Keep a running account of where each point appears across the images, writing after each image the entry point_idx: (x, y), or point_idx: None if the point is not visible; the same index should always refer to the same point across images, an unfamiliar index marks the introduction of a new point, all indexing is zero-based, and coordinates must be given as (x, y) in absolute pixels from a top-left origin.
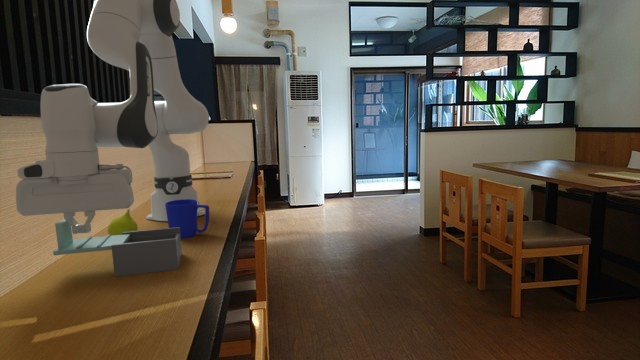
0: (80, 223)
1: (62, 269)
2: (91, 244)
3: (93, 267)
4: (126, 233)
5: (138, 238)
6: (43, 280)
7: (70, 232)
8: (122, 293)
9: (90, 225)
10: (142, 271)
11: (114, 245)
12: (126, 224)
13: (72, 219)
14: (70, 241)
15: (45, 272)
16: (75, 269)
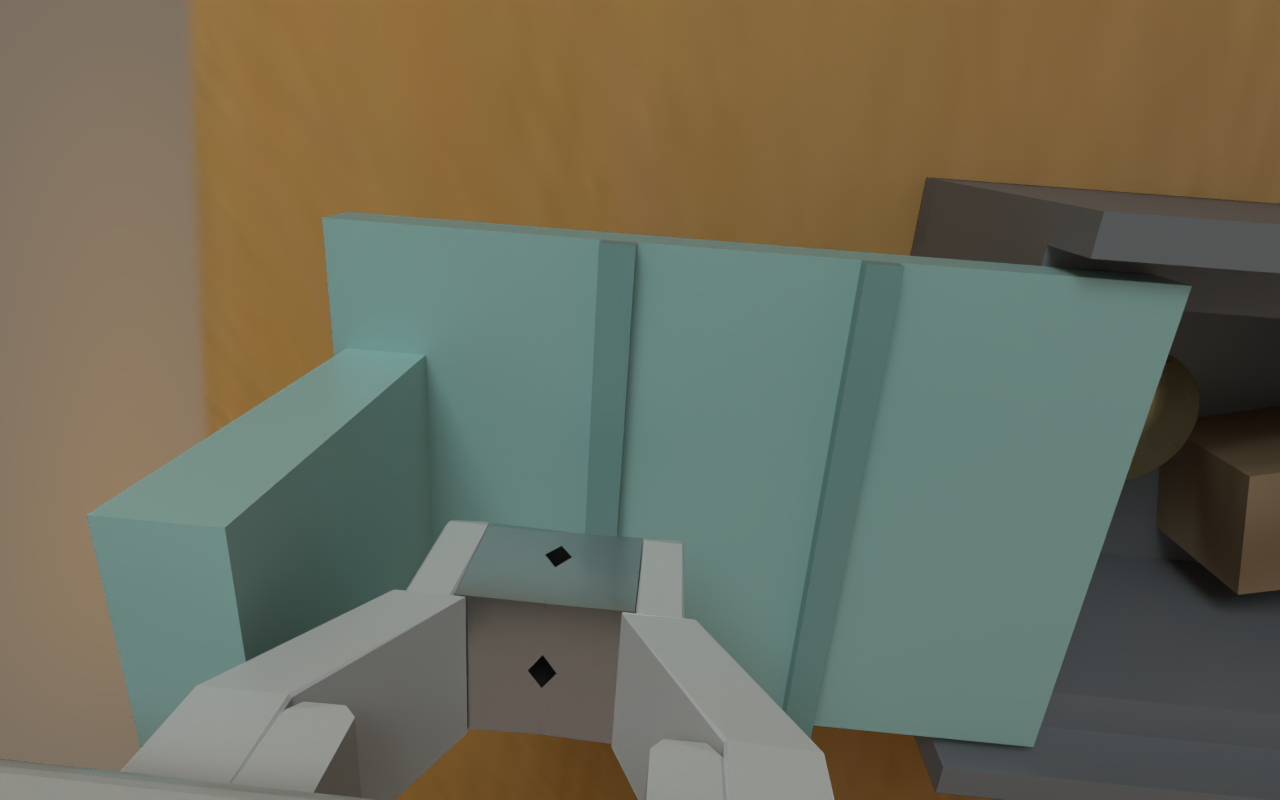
0: (508, 602)
1: (360, 114)
2: (702, 600)
3: (636, 180)
4: (1146, 259)
5: (1250, 310)
6: (319, 353)
7: (370, 459)
8: (901, 777)
9: (683, 590)
10: None
11: (966, 793)
12: None
13: (366, 749)
14: (420, 444)
15: (237, 141)
16: (484, 169)
